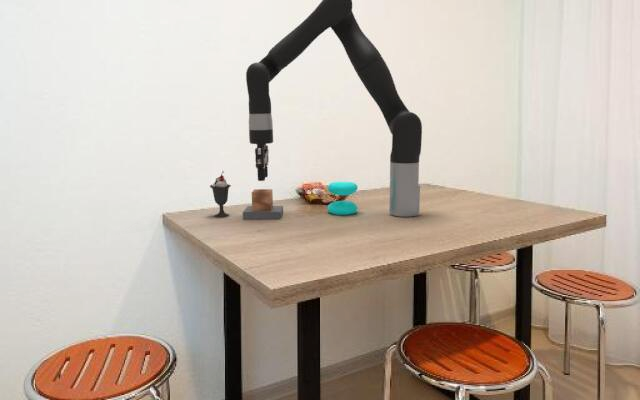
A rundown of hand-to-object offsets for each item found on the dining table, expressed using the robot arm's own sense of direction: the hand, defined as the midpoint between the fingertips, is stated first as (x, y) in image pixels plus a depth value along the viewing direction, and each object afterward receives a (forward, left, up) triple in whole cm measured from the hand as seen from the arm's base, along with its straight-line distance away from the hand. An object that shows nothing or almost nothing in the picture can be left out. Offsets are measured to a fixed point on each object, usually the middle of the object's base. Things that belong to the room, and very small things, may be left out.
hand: (263, 178), depth 157 cm
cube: (0, 0, -10) cm, 10 cm away
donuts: (-26, -4, -13) cm, 29 cm away
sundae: (+14, -1, -13) cm, 19 cm away
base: (0, 0, -13) cm, 13 cm away
